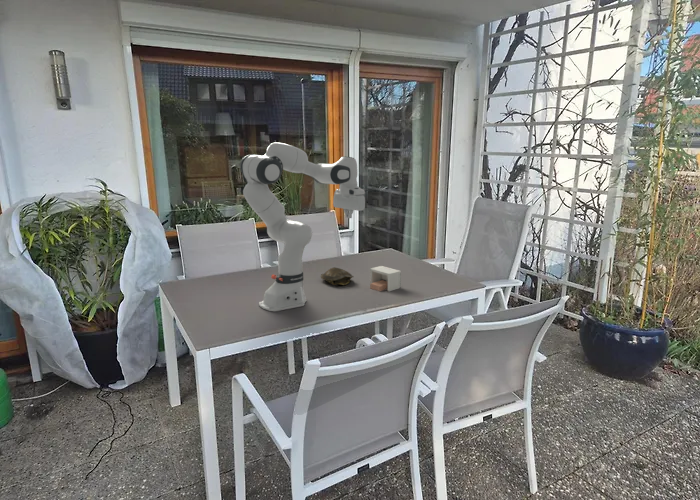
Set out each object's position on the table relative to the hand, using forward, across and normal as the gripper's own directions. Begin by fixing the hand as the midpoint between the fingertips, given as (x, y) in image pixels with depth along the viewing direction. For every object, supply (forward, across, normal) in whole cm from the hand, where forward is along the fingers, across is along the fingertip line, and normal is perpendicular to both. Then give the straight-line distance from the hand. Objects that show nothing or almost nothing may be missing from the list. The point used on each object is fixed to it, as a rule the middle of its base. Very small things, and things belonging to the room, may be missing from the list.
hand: (348, 217), depth 220 cm
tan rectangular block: (+38, +10, +13) cm, 41 cm away
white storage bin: (+37, +10, +17) cm, 42 cm away
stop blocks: (+37, +10, +19) cm, 43 cm away
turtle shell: (+38, -15, +4) cm, 40 cm away
